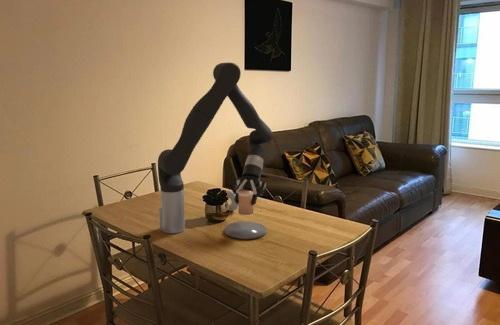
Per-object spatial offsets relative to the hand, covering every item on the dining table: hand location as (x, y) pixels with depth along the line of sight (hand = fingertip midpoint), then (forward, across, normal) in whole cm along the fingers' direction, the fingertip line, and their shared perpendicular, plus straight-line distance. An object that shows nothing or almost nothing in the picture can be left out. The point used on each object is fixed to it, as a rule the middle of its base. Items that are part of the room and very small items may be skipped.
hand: (244, 203), depth 167 cm
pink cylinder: (+2, 0, +4) cm, 5 cm away
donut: (-8, -15, +26) cm, 32 cm away
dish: (+8, 0, +10) cm, 13 cm away
